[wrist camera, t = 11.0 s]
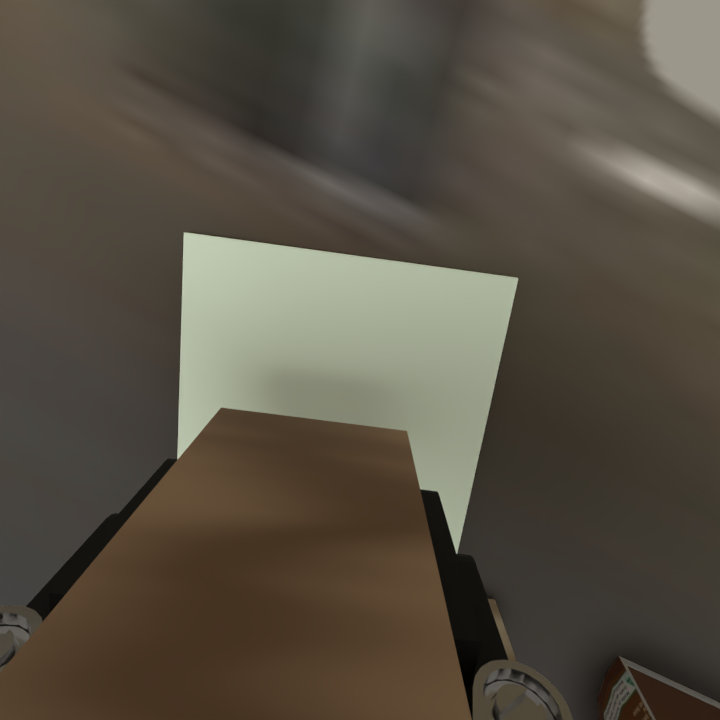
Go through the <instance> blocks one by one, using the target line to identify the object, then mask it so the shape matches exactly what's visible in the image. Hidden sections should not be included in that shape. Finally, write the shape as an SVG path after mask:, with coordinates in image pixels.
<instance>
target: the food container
mask: <svg viewBox="0 0 720 720" xmlns="http://www.w3.org/2000/svg"><path fill="white" fill-rule="evenodd" d="M597 700H598V714H599V720H720V703H719V702H717V701H715V700H713V699H711V698H708V697H706V696H704V695H702V694H700V693H698V692H696V691H693V690H691V689H689V688H687V687H685V686H683V685H681V684H678V683H676V682H674V681H672V680H670V679H668V678H665V677H663V676H661V675H659V674H657V673H655V672H653V671H650V670H648V669H646V668H644V667H642V666H640V665H638V664H635V663H633V662H631V661H629V660H627V659H625V658H623V657H620V656H618V657H617V659H616V660H615V661H614V663H613V664H612V665H611V667H610V668H609V669H608V671H607V672H606V674H605V677H604V680H603V683H602V686H601V689H600V692H599V695H598V698H597Z"/></svg>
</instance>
